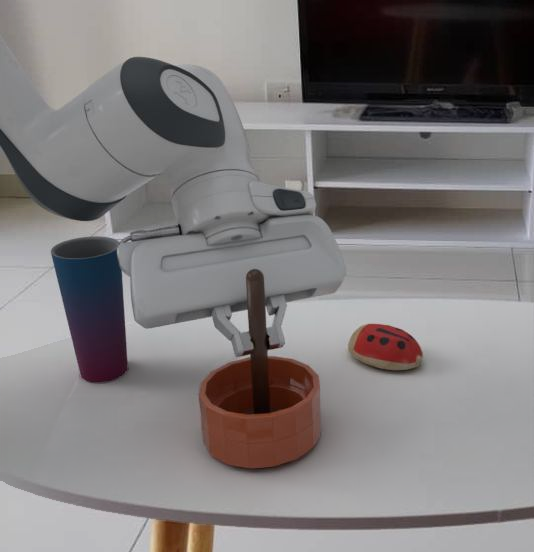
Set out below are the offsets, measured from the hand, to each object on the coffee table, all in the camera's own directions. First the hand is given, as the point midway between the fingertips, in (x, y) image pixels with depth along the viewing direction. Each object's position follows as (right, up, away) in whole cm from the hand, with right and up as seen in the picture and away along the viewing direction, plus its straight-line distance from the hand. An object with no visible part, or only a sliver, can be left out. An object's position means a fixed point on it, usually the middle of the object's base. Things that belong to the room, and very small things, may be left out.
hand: (261, 350), depth 69 cm
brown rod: (-1, -8, +4) cm, 9 cm away
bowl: (-1, -9, +4) cm, 10 cm away
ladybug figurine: (+11, -3, +20) cm, 23 cm away
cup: (-21, -4, +15) cm, 26 cm away
